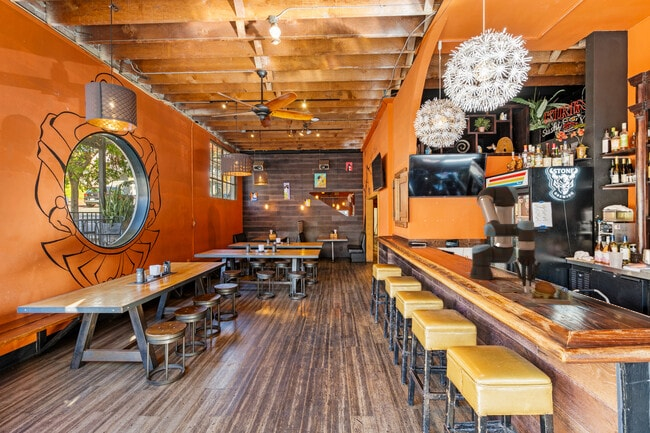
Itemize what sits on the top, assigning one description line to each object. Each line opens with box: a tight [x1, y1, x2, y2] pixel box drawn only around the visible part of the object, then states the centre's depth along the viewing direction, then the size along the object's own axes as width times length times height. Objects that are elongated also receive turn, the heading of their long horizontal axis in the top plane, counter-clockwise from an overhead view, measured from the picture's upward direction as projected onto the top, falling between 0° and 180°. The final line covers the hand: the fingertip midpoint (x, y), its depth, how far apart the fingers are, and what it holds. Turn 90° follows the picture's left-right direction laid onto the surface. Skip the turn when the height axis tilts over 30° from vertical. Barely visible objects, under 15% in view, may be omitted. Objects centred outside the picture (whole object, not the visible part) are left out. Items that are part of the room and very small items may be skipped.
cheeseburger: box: [531, 280, 556, 300], centre depth 163 cm, size 10×11×10 cm
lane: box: [500, 284, 573, 306], centre depth 164 cm, size 21×26×5 cm
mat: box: [522, 301, 540, 308], centre depth 152 cm, size 6×7×1 cm
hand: (526, 292), depth 165 cm, fingers closed
